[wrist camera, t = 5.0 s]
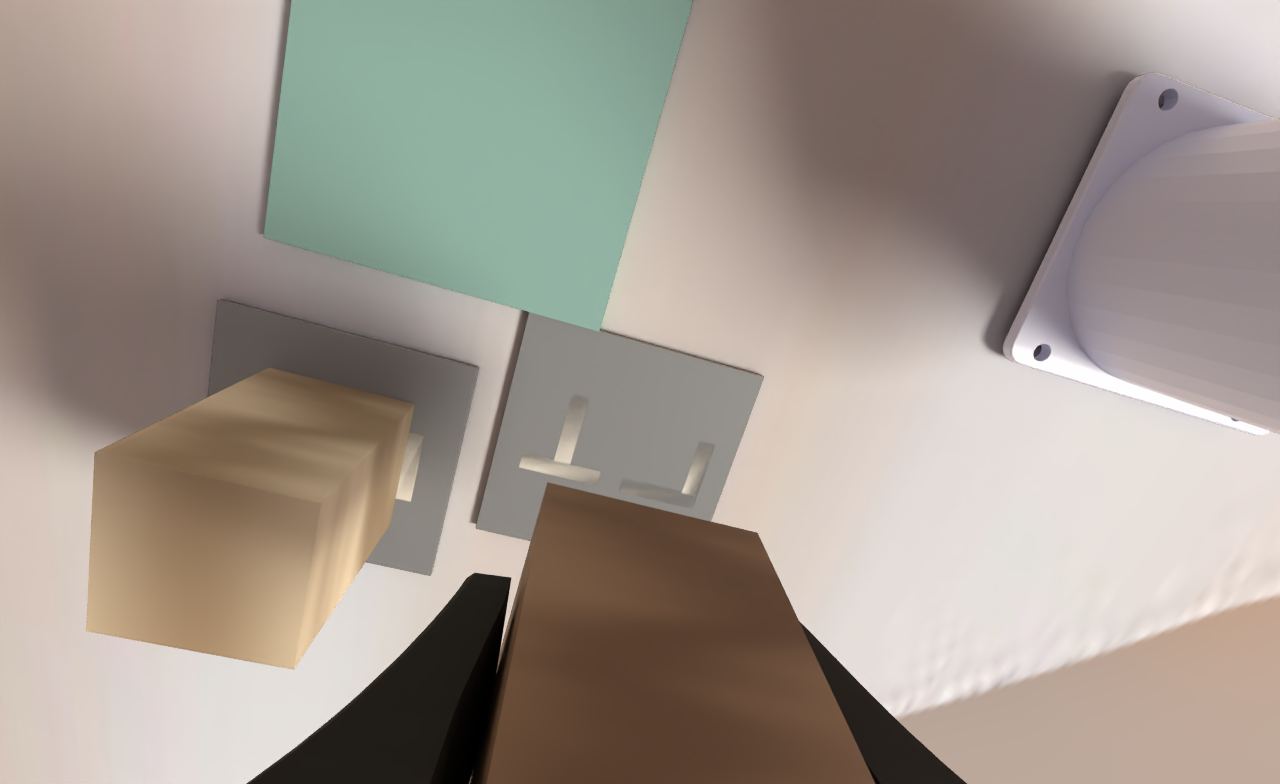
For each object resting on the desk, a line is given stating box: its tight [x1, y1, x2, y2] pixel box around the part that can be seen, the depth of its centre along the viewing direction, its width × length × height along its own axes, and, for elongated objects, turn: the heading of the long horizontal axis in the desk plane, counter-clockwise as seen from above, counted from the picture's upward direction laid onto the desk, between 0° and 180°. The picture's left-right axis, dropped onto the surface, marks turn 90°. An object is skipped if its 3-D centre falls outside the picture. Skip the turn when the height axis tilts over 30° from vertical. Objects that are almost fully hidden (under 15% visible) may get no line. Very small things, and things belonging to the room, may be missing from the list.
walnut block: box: [469, 482, 875, 784], centre depth 9 cm, size 4×4×6 cm
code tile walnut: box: [476, 312, 764, 541], centre depth 18 cm, size 7×7×1 cm
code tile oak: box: [208, 299, 479, 576], centre depth 18 cm, size 7×7×1 cm
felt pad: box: [263, 0, 693, 332], centre depth 15 cm, size 9×9×1 cm
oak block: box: [86, 367, 415, 670], centre depth 15 cm, size 4×4×6 cm
